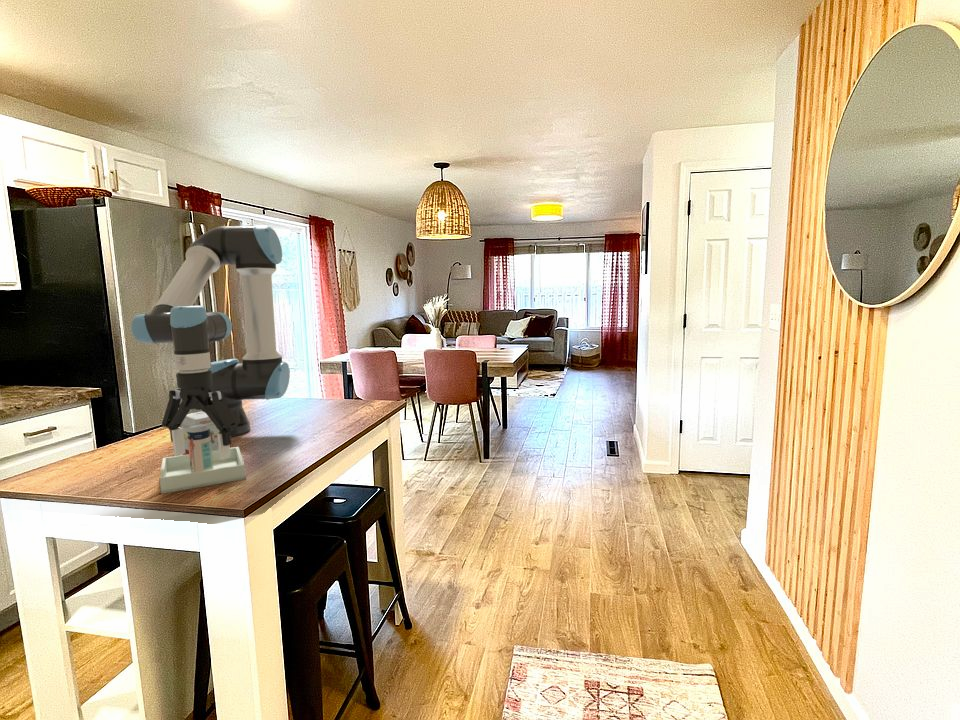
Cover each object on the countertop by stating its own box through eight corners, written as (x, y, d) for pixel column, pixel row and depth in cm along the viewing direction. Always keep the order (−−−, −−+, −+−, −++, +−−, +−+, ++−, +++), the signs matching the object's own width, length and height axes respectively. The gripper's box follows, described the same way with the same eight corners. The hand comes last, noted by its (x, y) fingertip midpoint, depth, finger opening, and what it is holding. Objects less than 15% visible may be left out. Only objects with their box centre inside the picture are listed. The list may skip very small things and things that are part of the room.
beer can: (196, 470, 130) (191, 423, 129) (216, 469, 131) (211, 422, 129) (188, 477, 126) (183, 428, 124) (209, 475, 126) (204, 427, 125)
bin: (164, 471, 132) (162, 457, 132) (239, 459, 141) (238, 446, 140) (161, 493, 117) (159, 478, 117) (245, 478, 125) (244, 464, 125)
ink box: (199, 462, 139) (195, 418, 137) (182, 457, 144) (177, 415, 142) (229, 453, 146) (226, 411, 145) (212, 448, 151) (208, 408, 149)
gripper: (139, 372, 125) (148, 457, 128) (225, 374, 118) (233, 464, 121) (165, 367, 132) (174, 448, 135) (248, 369, 125) (255, 454, 128)
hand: (202, 456), depth 128 cm, fingers open, 13 cm apart
